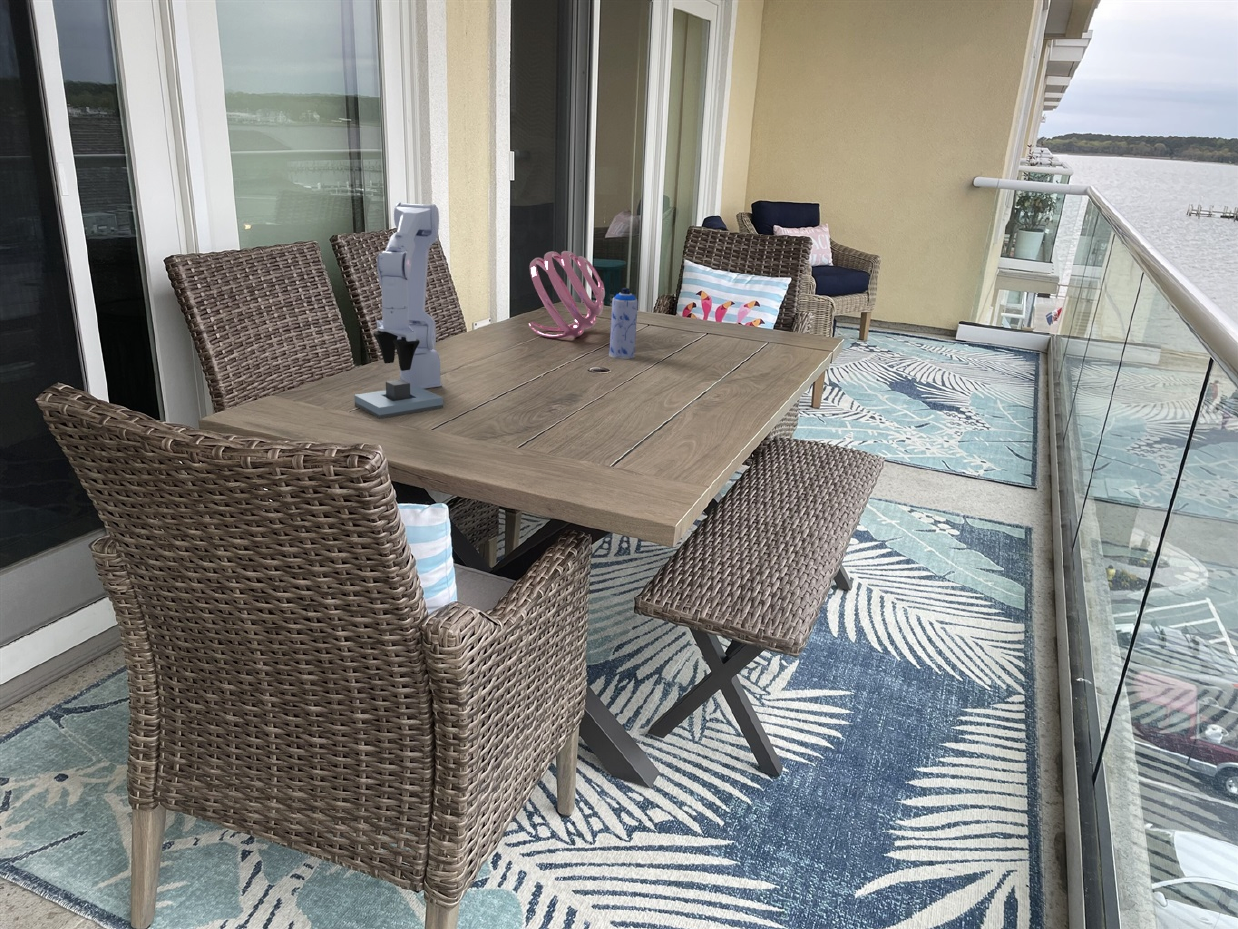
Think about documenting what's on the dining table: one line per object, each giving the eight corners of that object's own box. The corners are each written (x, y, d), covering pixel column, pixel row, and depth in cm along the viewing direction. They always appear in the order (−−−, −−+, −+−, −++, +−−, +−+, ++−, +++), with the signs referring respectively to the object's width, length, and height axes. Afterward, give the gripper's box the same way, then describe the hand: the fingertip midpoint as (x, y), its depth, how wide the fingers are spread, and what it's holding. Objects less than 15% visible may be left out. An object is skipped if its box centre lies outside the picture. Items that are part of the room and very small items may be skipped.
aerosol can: (639, 358, 266) (643, 290, 259) (614, 359, 263) (618, 290, 256) (629, 352, 272) (633, 286, 266) (604, 353, 270) (608, 286, 263)
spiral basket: (488, 273, 277) (562, 227, 270) (522, 283, 304) (590, 242, 296) (528, 353, 275) (604, 309, 268) (559, 356, 302) (628, 317, 295)
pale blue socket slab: (417, 395, 216) (416, 385, 215) (443, 407, 207) (443, 397, 207) (354, 405, 206) (354, 394, 205) (379, 418, 197) (379, 407, 196)
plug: (402, 400, 209) (401, 379, 207) (410, 404, 206) (410, 383, 204) (386, 402, 206) (385, 381, 205) (394, 406, 204) (393, 385, 202)
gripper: (363, 302, 202) (365, 361, 206) (394, 313, 192) (396, 375, 196) (391, 300, 206) (393, 358, 211) (424, 311, 196) (425, 371, 201)
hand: (397, 366), depth 204 cm, fingers open, 7 cm apart
